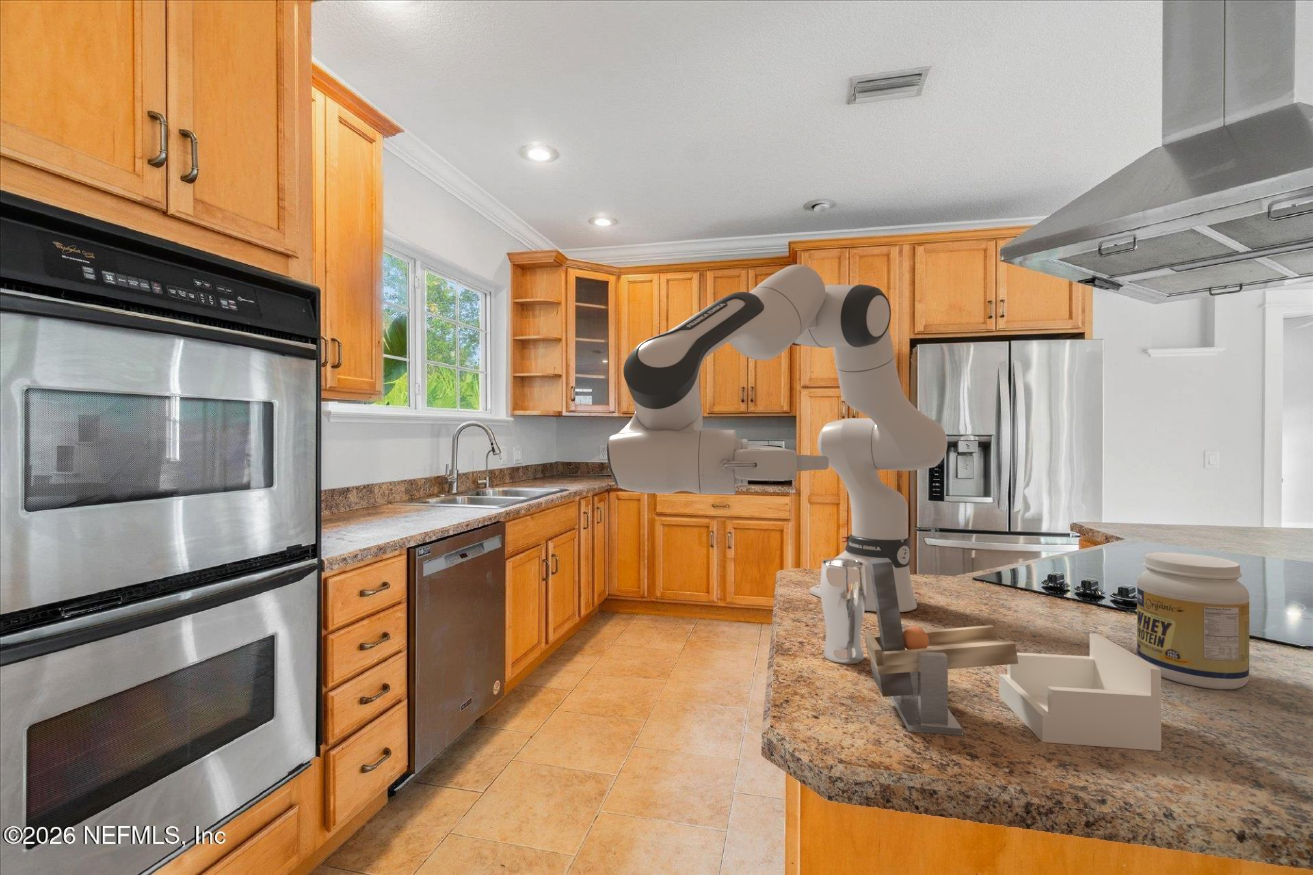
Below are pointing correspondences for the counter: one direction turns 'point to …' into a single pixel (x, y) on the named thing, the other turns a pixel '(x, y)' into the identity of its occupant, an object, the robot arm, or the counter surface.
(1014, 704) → the cream open-top tray
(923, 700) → the fulcrum
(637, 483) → the robot arm
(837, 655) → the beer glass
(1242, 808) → the counter surface
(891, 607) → the lever
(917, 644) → the ball
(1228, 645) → the supplement tub
